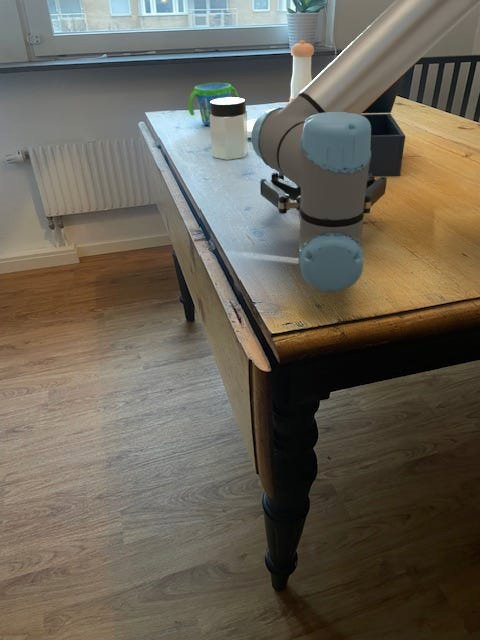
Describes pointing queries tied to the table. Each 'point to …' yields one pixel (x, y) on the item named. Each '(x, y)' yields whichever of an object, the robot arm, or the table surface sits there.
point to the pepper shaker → (301, 67)
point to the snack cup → (209, 97)
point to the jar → (228, 128)
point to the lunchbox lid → (385, 99)
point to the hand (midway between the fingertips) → (320, 171)
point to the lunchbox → (385, 145)
